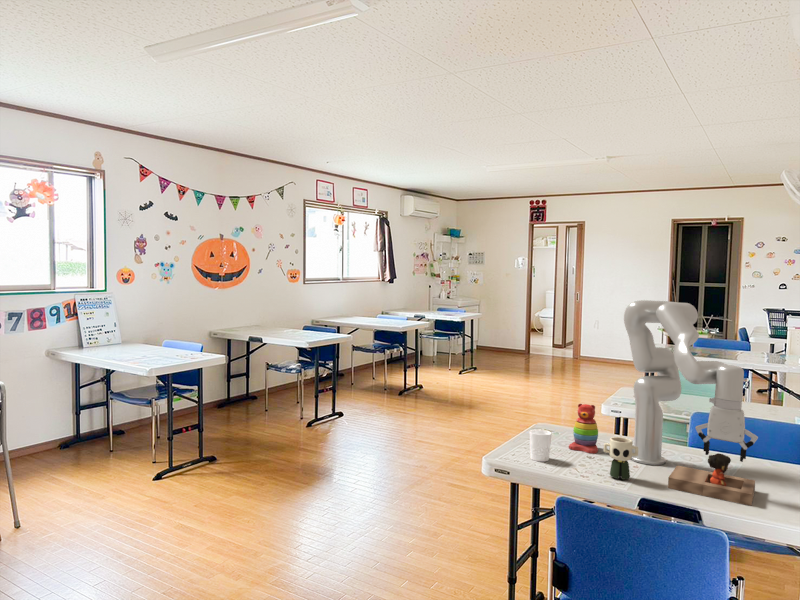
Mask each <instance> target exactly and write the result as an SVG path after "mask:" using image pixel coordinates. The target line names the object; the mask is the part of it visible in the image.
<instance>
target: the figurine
mask: <svg viewBox="0 0 800 600" xmlns="http://www.w3.org/2000/svg"><path fill="white" fill-rule="evenodd" d="M708 455H709V454H708ZM731 462H732V459H731V458H730V457H729V456H728V455H726V454H723V453H719V452H718V453H715V454H710V455H709V456H708V459H707V463H708V465H709V467H710V468H712V469H714V470H713V471H712V472H713V474H712V475H713V477H711V479H710V482H711V483H712V484H717V485H722V486H727V485H726V483H725V481H724V480H725V477H724V475H725V473H726V472H727V471H728V469H729V468H728V467H729V465H730V464H731Z"/></svg>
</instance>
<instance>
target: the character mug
mask: <svg viewBox="0 0 800 600" xmlns="http://www.w3.org/2000/svg"><path fill="white" fill-rule="evenodd" d="M633 444H634V441H633V440H632V439H630V438H626V437H622V436H612V437H610V438H609V443H608V442H604V443H603V453H606V454H609V457H610V458H611V459H612V461H611V465H610V471H609V475H610V477H612V478H614V479H619V478H621V480H628V479H630V463H629V461H630V460H631V458H632V456H638V447H636V446H633ZM608 447H609V449H608ZM632 449H635V453H632Z"/></svg>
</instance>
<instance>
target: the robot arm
mask: <svg viewBox="0 0 800 600" xmlns="http://www.w3.org/2000/svg"><path fill="white" fill-rule="evenodd" d="M698 314H699V312H698V311H697V309H696V307H695V305H692V304H691V303H690V302H689V303H688V302H676V301H668V300H667V301H666V300H647V299H646V300H645V299H643V300H637V301H636V300H635V301H633V302H630V303H629V304H628V305H627V307H626V308H625V310H624V313H623V323H624V327H625V331H626V332H627V337H628V339H629V345H630V351H631V352H630V353H631V357H632V362H633V367H634V368H635V370H636V371H638V372H640V373H650V374H651V373H656V374H657V375H645V376H641V377H639V378H637V379H636V380H635V382H634V384H633V395H634V399H635V400H634V402H635V410H634V411H635V412H634V413H635V414H634V415H635V417H634V418H635V419H634V434H633V435H634V436H633V437H634V438H633V439H634V440H633V444H632V446H636V447H638V456H632V458H631V459H630V460H631V461H633V462H636V463H640V464H644V465H650V466H660V465H664V464H666V463H667V462H666V460H667V459H666V458H665V457H663V456H662V446H663V425H664V424H663V423H664V414H663V413H664V412H663V410H662V407H661V405H660V402H672V401H677V400H678V399H679V398H680V396H681V395H682V382H681V377H680V373H681V375H682V376H683V377H684V379H685V380H686V381H688V382H689V383H691V384H694V385H715V390H714V391H715V392H714V397H710V398H709V400H708V401H709V403H712V404H713V405H712V406H711V408H710V410H709V415H708V420H707V421H708V422H707V423H702V424H699V425H696V426H695V428H694V429H695V430H696V433H697V435H698V436H699V437H700V438H701V440H702V442H703V452H705V453H704V455H706V456H708V455H709V454H710V443H711V442H710V440H711V439H713V440H718V441H724V442H730V443H737V444H739V445H740V446H741V448H740V453H739V455H740V456H739V461H740V462H741V463H743V462H744V460H746V458H747V450H748V449H749V448H750V447H752V446H754V445H755V443H756V442H757V440H758V439H759V436H757V435H756V434H755V433H752V432H751V431H750V430H748V429H746V420H745V419H746V418H745V417H746V416H745V410H743V409H742V407H743V406H742V405H743V394H744V393H743V391H744V381H745V380H744V377H745V375H744V374H745V371H744V369H743V368H742V367H741V366H738V365H733V364H732V365H729V364H727V363H724V362H722V361H719V360H718V361H717V360H711V361H710V360H698V361H697V360H696V358H695V357H694V355H693V354H692V352H691V350H690V347H691V346H693V344H695V343H696V342H697V341H698V339H699V337H700V333H699V331H698V330H697V329H696V327H695V326H694V324H696V323H697V321H698V319H699V315H698ZM646 323H647V324H661V326H662V328H663V329H664V331H665V332H666V333H667V335H668V337H669V338H670V340H671V341H672V343H673V344H674V348H673V351H672V350H671V349H669V348H667V347H663V346H661V347H656V345H655V340H654V339H655V338H654V335H653V333H652V332H651V330H650V328H649V327H648V326H647V325H646ZM704 429H707V431H706V433H707V435H705V434H704V432H703V431H702V430H704ZM745 435H746V436H747V437H749V438H750V440H749V441H747V442H746V441H745ZM632 453H635V449H632Z"/></svg>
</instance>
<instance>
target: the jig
mask: <svg viewBox="0 0 800 600" xmlns="http://www.w3.org/2000/svg"><path fill="white" fill-rule="evenodd" d="M713 472H714V471H708V470H702V469H697V468H693V467H687V466H681V465H676V466H675V468H674V469H673V471H672V472H671V473H670V475H669V476H668V482H667V489H671V490H675V491H681V492H684V493H690V494H694V495H698V496H703V497H707V498H708V497H709V498H712V499H716V500H722V501H726V502H731V503H734V504H735V503H736V504H740V505H745V506H750V507H752V505H753V501H754V497H755V491H756V480H755V479H750V478H745V477H740V476H739V477H738V476H734V475H728V474H724V477H725V480H724V481H725V483H726V485H727V486H722V485H717V484H712V483H711V482H710V479H711V477H713V475H712V474H713Z"/></svg>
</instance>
